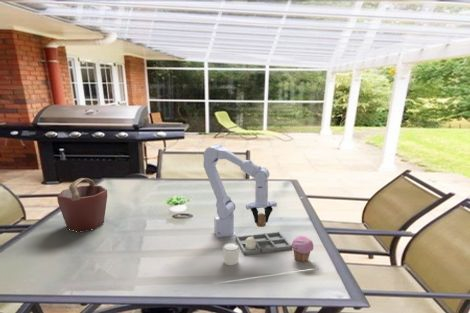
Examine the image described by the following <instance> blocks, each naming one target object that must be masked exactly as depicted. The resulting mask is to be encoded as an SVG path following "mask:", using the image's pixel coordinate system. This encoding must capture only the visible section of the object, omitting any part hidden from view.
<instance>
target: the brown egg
mask: <svg viewBox="0 0 470 313" xmlns="http://www.w3.org/2000/svg"><path fill="white" fill-rule="evenodd" d="M255 224H256V223H255ZM266 224H267V222H266V216H265V213H263V212H258V223H257V224H256V225H255V226H257V227H259V228H264V227H266V226H267V225H266Z"/></svg>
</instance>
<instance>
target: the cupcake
mask: <svg viewBox="0 0 470 313" xmlns="http://www.w3.org/2000/svg"><path fill="white" fill-rule="evenodd" d="M291 246H292V249H291V250H293V257H294V260H295V261H299V262H300V261H301V262H302V263H303V262H307V261H308V260H309V259H310V255H311V253H312V251H313V250H314V243H313V240H312V239H310V238H308V237H307V236H304V235H298V236H296V237H295V239H293V240H292V242H291Z"/></svg>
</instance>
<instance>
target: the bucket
mask: <svg viewBox="0 0 470 313" xmlns="http://www.w3.org/2000/svg"><path fill="white" fill-rule="evenodd" d="M83 181H85V182H87V183H88V184H89V185H80V186H79V184H80V183H81V182H83ZM56 200H57V205H58V206H59V209H60V212H61V214H62V217H63V220H64V223H65V226H66V228H67V230H68V229H70V230H74V231H77V232H80V231H85V232H87V231H86V230H91V229H95V228H97V227H98V228H100V227H101V226H102V224H103V223H104V224H105V217H106V210H107V209H106V208H107V201H108V190H107V189H106V187H104V186H102V185H96V184H95V182H94V180H93V179H90V178H87V177H85V178H84V177H80V178H78V179H76V180H74V181H73V182H72V183H71V184H70V185H69V186H68V188H67V189H63V190H62V191H60V193H59V194H58V195H57V196H56ZM104 224H103V225H104ZM100 225H101V226H100ZM99 226H100V227H99ZM98 228H97V229H98ZM70 230H69V231H70ZM95 230H96V229H95ZM74 231H73V232H74ZM91 231H92V230H91ZM77 232H76V233H77ZM80 233H81V232H80Z"/></svg>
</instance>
